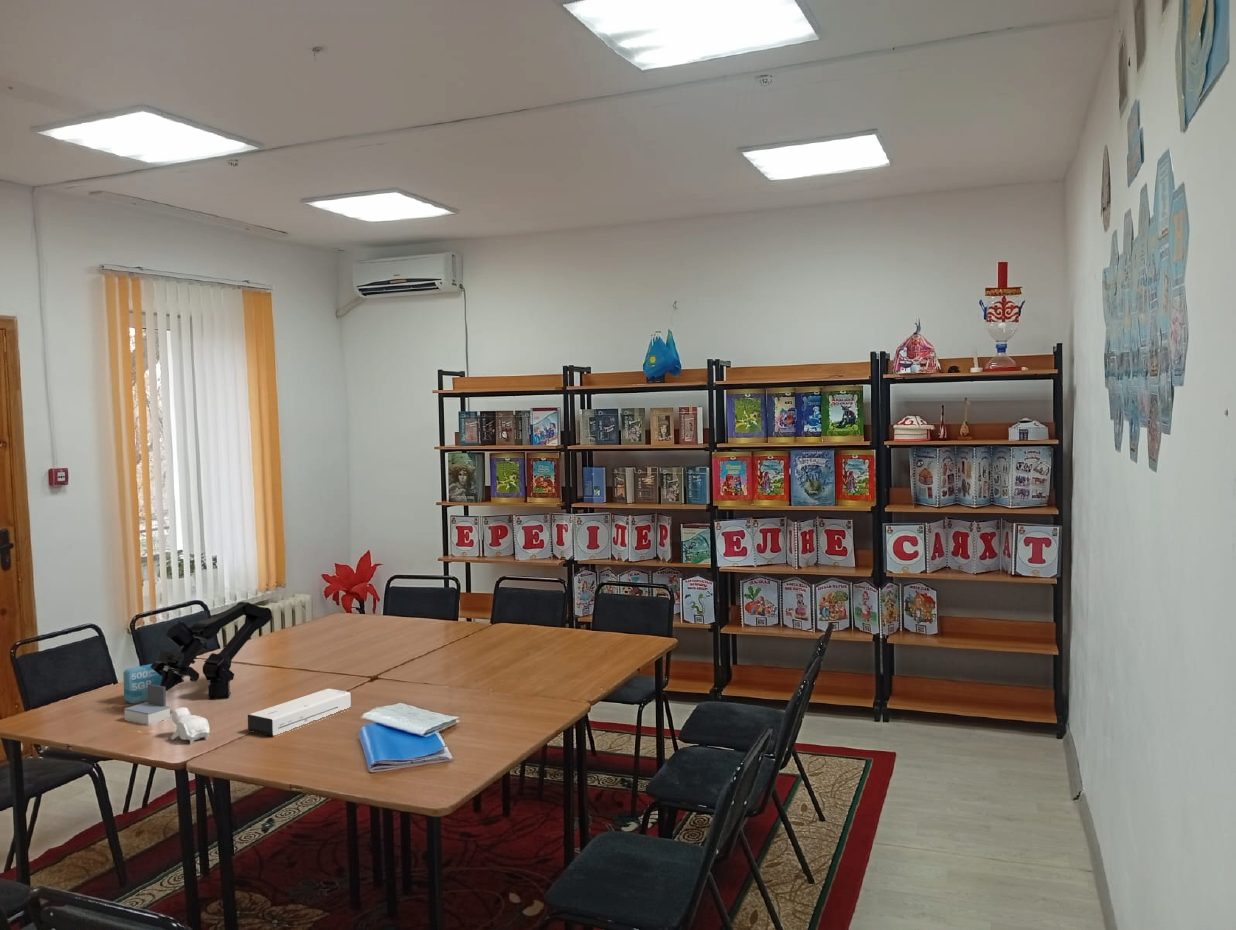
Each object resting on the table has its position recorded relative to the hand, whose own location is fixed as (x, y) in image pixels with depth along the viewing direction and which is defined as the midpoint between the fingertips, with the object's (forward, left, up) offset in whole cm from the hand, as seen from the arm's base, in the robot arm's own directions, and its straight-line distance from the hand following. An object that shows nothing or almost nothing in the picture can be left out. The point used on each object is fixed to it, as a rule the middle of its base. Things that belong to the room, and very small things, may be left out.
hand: (159, 693), depth 309 cm
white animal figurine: (-14, +27, -8) cm, 32 cm away
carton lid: (+3, +4, -4) cm, 6 cm away
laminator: (-46, +18, -8) cm, 50 cm away
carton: (+3, +4, -8) cm, 9 cm away
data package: (+10, -22, -8) cm, 25 cm away
